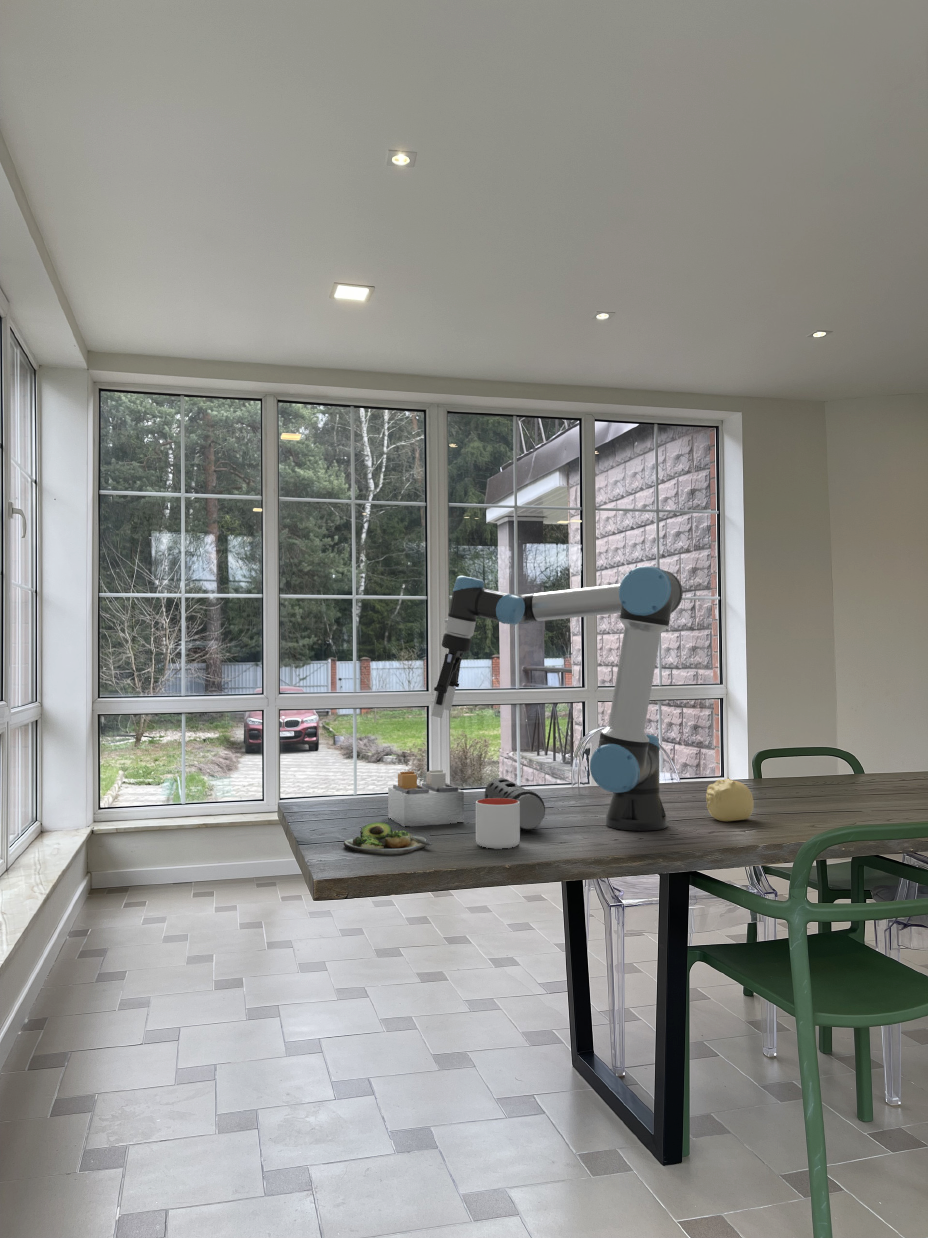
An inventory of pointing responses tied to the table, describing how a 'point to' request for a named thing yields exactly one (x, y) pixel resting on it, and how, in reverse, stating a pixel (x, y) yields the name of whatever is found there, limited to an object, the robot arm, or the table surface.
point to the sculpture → (729, 800)
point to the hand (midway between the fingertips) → (441, 713)
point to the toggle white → (436, 778)
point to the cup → (497, 823)
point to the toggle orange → (407, 780)
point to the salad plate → (384, 840)
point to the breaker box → (425, 805)
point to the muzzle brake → (529, 801)
